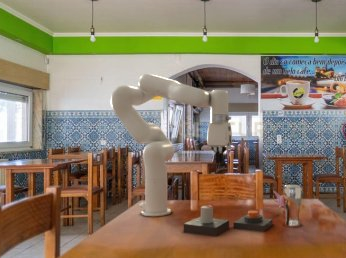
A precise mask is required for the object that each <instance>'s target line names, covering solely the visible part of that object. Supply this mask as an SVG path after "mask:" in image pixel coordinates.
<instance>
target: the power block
mask: <svg viewBox="0 0 346 258" xmlns="http://www.w3.org/2000/svg"><path fill="white" fill-rule="evenodd" d="M272 226H273V219H272V218H266V217H265V218H264V216H263V215H262V214H259V217H256V218H251V217H248V213H247V214H245V215H243V216H242V217H240V218H239V219H237V220H235V221H234V222H233V229H237V230H246V231H254V232H263V233H264V232H266V231H267V230H268V229H269V228H270V227H272Z"/></svg>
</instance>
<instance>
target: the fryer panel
mask: <svg viewBox="0 0 346 258" xmlns="http://www.w3.org/2000/svg"><path fill="white" fill-rule="evenodd" d="M228 229H230V220H229V219H224V218H223V219H222V218H214V217H213V222H212V223H201V216H198V217H196V218H193V219H190V220H189V221H186V222H184V223H183V233H188V234H196V235H201V236H202V235H203V236H211V237H217V236H219V235H220V234H222V233H224V232H226V231H227V230H228Z"/></svg>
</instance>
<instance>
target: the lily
mask: <svg viewBox="0 0 346 258" xmlns="http://www.w3.org/2000/svg"><path fill="white" fill-rule="evenodd" d="M273 193H274V194H275V196H276V199H274V202H275V203H277V204H278V205H279V206H278V209H276V214H275V216H277V215H278V212H279V210H280V208H282V209H283V211H284V212H285V209H284V203H283V194H281V195H280V194H279V193H278V192H277V191H275V190H273Z"/></svg>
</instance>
